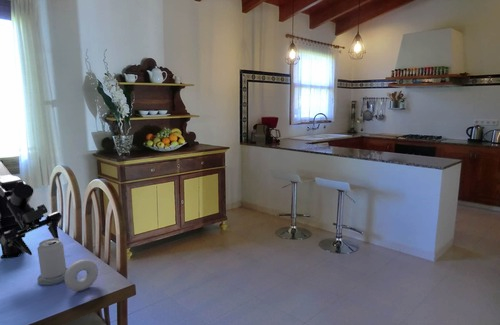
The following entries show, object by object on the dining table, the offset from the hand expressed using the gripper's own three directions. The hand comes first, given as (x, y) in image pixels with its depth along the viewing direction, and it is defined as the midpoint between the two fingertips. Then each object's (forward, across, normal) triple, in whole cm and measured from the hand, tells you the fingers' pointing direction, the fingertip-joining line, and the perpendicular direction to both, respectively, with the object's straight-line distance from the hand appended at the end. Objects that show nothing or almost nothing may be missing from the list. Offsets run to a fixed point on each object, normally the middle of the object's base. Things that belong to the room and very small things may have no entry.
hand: (45, 248), depth 119 cm
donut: (+20, -1, -10) cm, 23 cm away
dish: (+10, -2, +1) cm, 11 cm away
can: (+10, -2, +1) cm, 10 cm away
